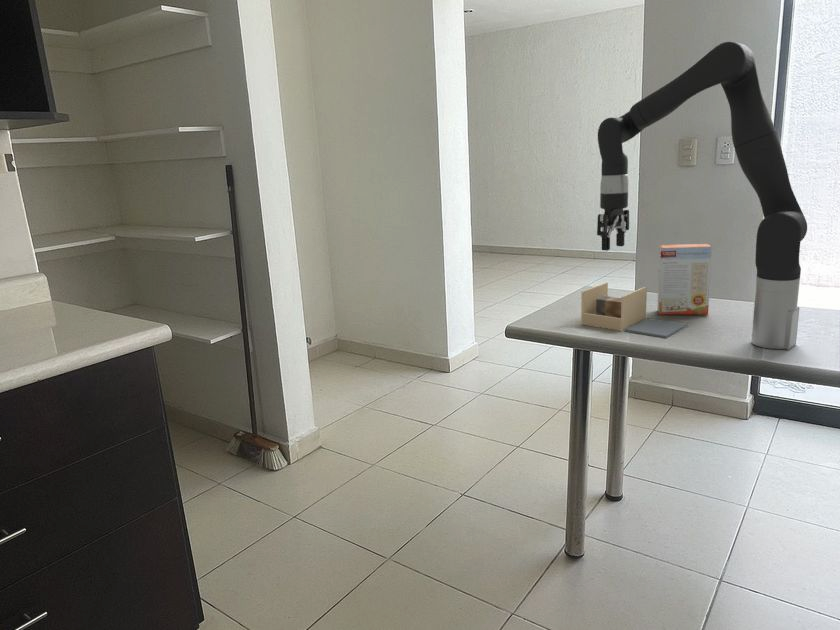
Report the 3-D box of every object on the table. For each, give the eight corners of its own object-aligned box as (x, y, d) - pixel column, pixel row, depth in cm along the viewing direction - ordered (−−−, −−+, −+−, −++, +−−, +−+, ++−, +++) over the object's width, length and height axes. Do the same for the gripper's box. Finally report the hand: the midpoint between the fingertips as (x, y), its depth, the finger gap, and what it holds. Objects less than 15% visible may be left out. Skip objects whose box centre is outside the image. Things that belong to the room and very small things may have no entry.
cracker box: (705, 310, 186) (709, 243, 181) (708, 315, 181) (712, 246, 175) (656, 310, 190) (659, 244, 185) (658, 315, 185) (661, 247, 179)
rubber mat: (687, 325, 172) (687, 323, 172) (666, 338, 162) (666, 335, 162) (646, 319, 180) (646, 318, 180) (624, 331, 171) (624, 329, 171)
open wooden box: (645, 319, 181) (646, 286, 178) (622, 331, 171) (623, 296, 168) (605, 313, 190) (606, 282, 187) (581, 324, 180) (581, 291, 177)
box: (631, 322, 179) (632, 299, 177) (624, 326, 176) (624, 302, 174) (603, 318, 185) (604, 295, 183) (595, 321, 182) (596, 299, 180)
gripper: (614, 193, 164) (612, 252, 168) (638, 189, 173) (636, 245, 177) (589, 193, 169) (588, 251, 173) (614, 189, 179) (613, 244, 183)
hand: (613, 248), depth 175 cm, fingers open, 8 cm apart
